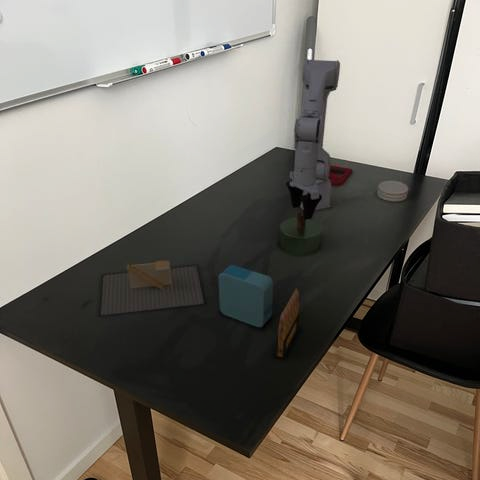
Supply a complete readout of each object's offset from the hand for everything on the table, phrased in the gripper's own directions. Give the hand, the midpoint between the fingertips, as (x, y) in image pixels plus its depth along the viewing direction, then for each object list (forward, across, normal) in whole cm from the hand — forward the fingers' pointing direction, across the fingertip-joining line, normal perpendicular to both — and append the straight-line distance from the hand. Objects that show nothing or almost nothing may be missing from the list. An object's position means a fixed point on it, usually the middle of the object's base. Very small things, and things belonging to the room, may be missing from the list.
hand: (301, 212), depth 139 cm
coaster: (+11, -19, +43) cm, 48 cm away
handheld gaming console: (+11, -40, +32) cm, 52 cm away
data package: (+11, +26, -26) cm, 38 cm away
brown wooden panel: (+11, +38, -20) cm, 44 cm away
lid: (+5, 0, 0) cm, 5 cm away
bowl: (+10, 0, 0) cm, 10 cm away
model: (+11, +7, -45) cm, 47 cm away
